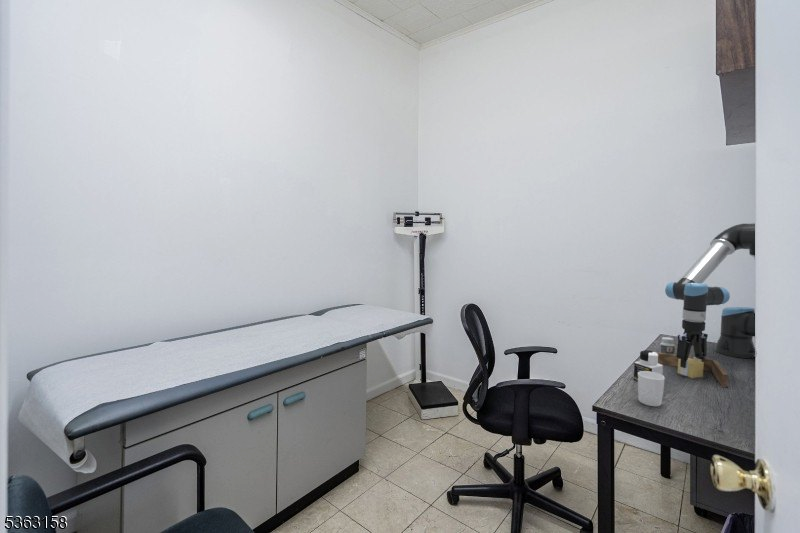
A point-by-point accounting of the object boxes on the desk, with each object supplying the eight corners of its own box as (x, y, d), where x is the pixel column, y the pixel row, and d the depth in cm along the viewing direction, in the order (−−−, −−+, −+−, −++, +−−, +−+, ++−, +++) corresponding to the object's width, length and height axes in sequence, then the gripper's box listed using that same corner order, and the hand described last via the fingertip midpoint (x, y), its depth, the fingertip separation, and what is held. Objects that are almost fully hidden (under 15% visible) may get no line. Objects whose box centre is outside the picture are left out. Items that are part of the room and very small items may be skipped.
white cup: (654, 409, 124) (655, 381, 124) (631, 399, 132) (632, 373, 131) (668, 404, 128) (669, 377, 127) (645, 395, 135) (646, 369, 134)
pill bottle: (676, 361, 171) (678, 340, 170) (663, 360, 172) (664, 339, 171) (670, 357, 176) (671, 337, 175) (657, 356, 177) (658, 336, 176)
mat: (703, 373, 156) (703, 372, 156) (708, 381, 147) (708, 381, 147) (673, 369, 161) (673, 368, 161) (677, 376, 152) (677, 376, 152)
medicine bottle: (633, 378, 151) (634, 350, 150) (644, 375, 154) (646, 348, 152) (651, 385, 144) (652, 355, 143) (662, 382, 147) (664, 353, 146)
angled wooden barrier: (714, 370, 158) (715, 359, 158) (727, 387, 141) (728, 375, 141) (653, 362, 169) (653, 351, 169) (658, 377, 152) (658, 365, 152)
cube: (688, 371, 157) (688, 357, 157) (702, 376, 152) (703, 362, 151) (677, 372, 156) (678, 359, 155) (691, 377, 150) (692, 363, 150)
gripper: (685, 323, 146) (681, 379, 148) (720, 320, 150) (716, 375, 152) (667, 319, 153) (664, 373, 155) (701, 316, 158) (698, 368, 160)
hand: (690, 373), depth 154 cm, fingers closed on cube, 6 cm apart
